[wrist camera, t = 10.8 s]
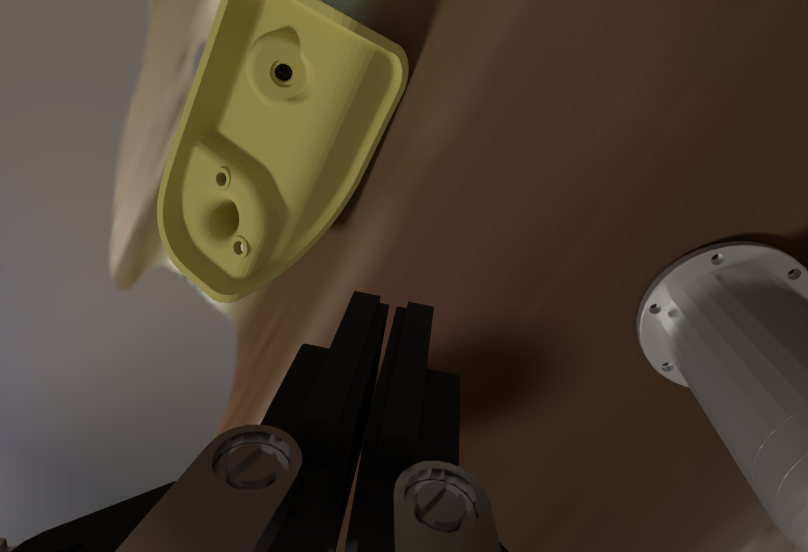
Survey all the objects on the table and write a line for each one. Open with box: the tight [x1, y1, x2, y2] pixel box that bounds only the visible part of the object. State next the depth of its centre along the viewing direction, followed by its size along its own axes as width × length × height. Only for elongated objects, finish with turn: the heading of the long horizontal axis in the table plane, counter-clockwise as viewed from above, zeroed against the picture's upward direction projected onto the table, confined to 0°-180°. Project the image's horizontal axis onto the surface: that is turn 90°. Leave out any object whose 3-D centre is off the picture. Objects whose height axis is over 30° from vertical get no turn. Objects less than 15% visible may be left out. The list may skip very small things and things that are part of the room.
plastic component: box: [157, 0, 409, 303], centre depth 37 cm, size 20×8×10 cm
